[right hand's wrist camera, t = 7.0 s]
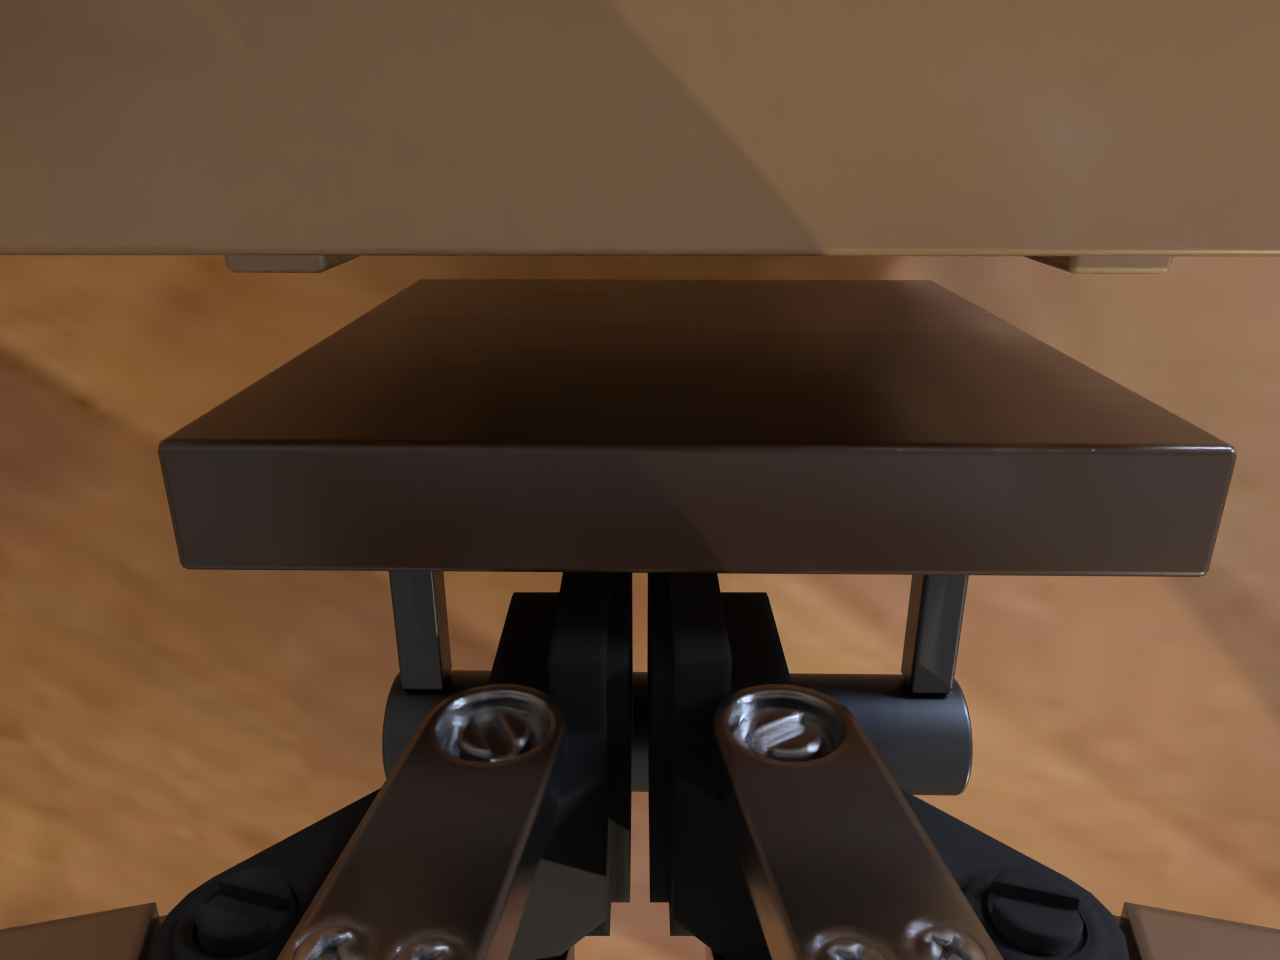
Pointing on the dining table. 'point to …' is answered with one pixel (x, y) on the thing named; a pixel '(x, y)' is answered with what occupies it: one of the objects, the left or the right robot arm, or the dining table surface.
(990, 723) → the dining table surface
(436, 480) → the drawer
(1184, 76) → the cabinet
